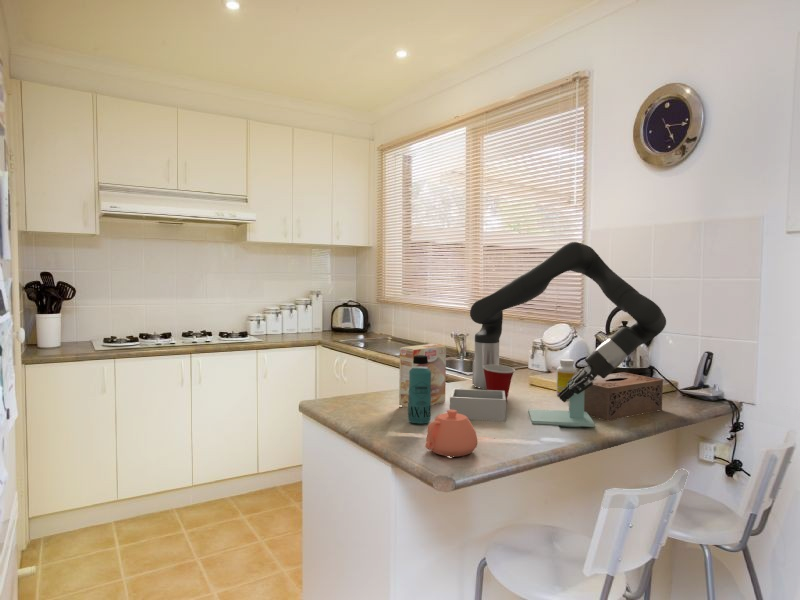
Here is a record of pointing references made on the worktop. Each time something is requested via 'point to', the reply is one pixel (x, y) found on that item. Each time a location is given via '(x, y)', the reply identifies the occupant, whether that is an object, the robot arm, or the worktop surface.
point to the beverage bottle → (419, 392)
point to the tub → (479, 404)
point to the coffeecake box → (435, 364)
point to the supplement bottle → (564, 373)
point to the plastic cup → (498, 377)
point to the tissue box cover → (622, 396)
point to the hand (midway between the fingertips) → (561, 398)
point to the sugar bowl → (451, 435)
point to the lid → (564, 414)
